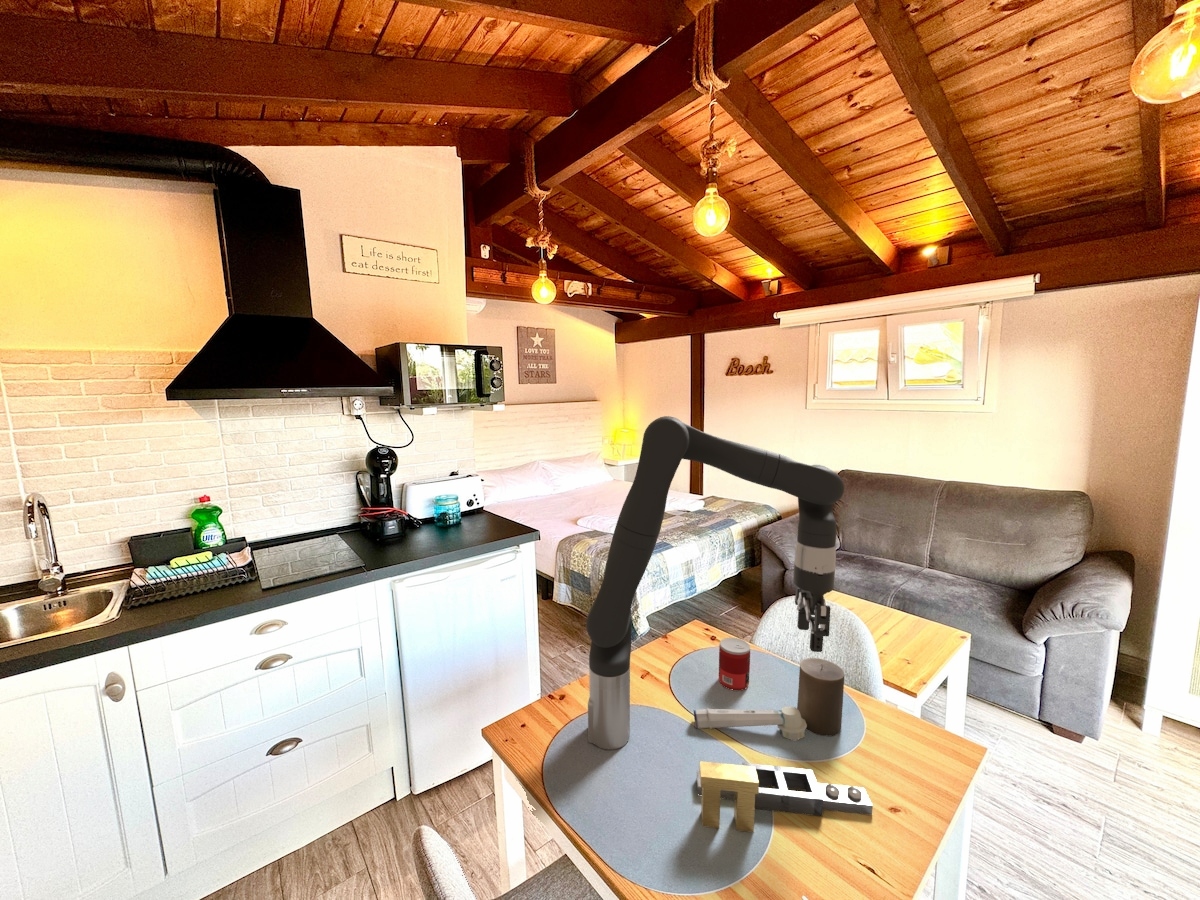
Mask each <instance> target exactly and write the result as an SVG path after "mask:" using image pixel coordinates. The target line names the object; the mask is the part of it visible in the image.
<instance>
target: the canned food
mask: <svg viewBox="0 0 1200 900" xmlns="http://www.w3.org/2000/svg"><path fill="white" fill-rule="evenodd" d="M718 651H719V652H718V653H719V654H718V680H719V683H720V685H721V684H722V685H723V687H724V686H725V687H727V688H729V689H728V690H730V689H733V690H732V691H734V690H741V691H743V690H742V689H744V690H746V689H747V688H748V687H749V684H750V672H751V671H750V670H751V645H750V644H749V643H748V642H747V641H746V640H744V639H741V638H737V637H736V638H735V637H725V638H722V639H721V640H720V641H719V650H718ZM722 685H721V686H722ZM725 687H724V688H725ZM727 688H726V689H727ZM745 688H746V689H745Z"/></svg>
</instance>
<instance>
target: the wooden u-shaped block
mask: <svg viewBox="0 0 1200 900" xmlns="http://www.w3.org/2000/svg"><path fill="white" fill-rule="evenodd" d="M698 771H699V772H700V784H701V788H702V796H701V810H700V811H701V823H702V827H706V828H713V829H714V828H715V829H720V823H721V822H720V821H721V819H720V818H721V798H720V792H721V790H726V791H735V800H734V808H733V811H734V812H733V817H734V823H735V830H736V831H739V832H747V833H754V832H755V810H756V809H755V794H759V786H760V785H759V781H758V777H757V772H756V768H755V767H752V766H743V765H741V764H732V763H721V762H713V761H712V762H711V761H701V760H700V761H699V770H698Z"/></svg>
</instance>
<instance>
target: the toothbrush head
mask: <svg viewBox="0 0 1200 900" xmlns="http://www.w3.org/2000/svg"><path fill="white" fill-rule="evenodd" d="M693 716H694V718H693V719H694V726H695V727H694V728H695V729H709V730H712V729H718V728H721V729H723V728H739V727H759V726H761V727H762V726H763V727H765V726H777V728H778V729H779V730H778V731H779V733H780V735H781V736H782V737H783V738H784V739H786V738H787V739H790V740H791V741H799V740H800V739H804V738H805V736H806V730H807V729H806V727H807V724H806V722H805V720H804V719H802V718H801V714H800V712H799V710H798V709H797V707H795V706H790V705H789V706H786V705H785V706H783V707H782V708H781V709H774V710H773V709H726V708H725V709H721V708H720V709H719V708H714V709H713V708H710V707H707V708H706V709H693Z"/></svg>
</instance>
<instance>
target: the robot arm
mask: <svg viewBox="0 0 1200 900" xmlns="http://www.w3.org/2000/svg"><path fill="white" fill-rule="evenodd" d="M682 460H687V461H692V462H698V463H700V464H705V465H706V466H710V467H713V468H714V469H715V468H716V469H718V470H721V471H723V472H725V473H727V474H729V475H732V476H734V477H736V478H739V479H741V480H745V481H747V482H751V483H752V484H757V485H760V486H763V487H765V488H769V489H775V490H777V491H782V492H784V493H786V494H789V495H791V496H793V497H796V498H797V504H798V514H799V515H798V525H797V535H796V536H797V537H796V538H797V539H796V547H795V552H794V561H793V562H794V563H793V580H792V581H793V584H794V586H795V597H794V604H795V605H796V606H797V607H796V610H797V613H798V614H797V629H798V630H800V631H808V630H809V629H810V637H809V650H810V651H811V652H815V653H821V652H823V649H824V648H823V647H824V637H830V627H831V626H830V625H831V606H830V605H827V604H826V599H825V597H824V596H825V595H826V594H828V593H831V592H832V591H833V590H834V586H835V574H836V560H837V553H836V543H837V528H838V527H837V526H838V525H837V519H836V517H835V516H834V512H833V508H834V504H835V503H837V502H838V501H839V500H841V498H843V495H844V493H845V483H844V481H843V480H842V479H843V478H842V477H840V475H839V474H838V473H837V472H835V471H833V470H832V469H830V468H828V467H826V466H825V465H821V464H807V463H803V462H800V461H799V462H798V461H796V460H794V459H792V458H790V457H788V456H785V455H783V454H780V453H777V452H773V451H770V450H766V449H763V448H759V447H755V446H751V445H748V444H744V443H740V442H738V441H737V442H736V441H732V440H728V439H724V438H721V437H718V436H716V435H712V434H709V433H708V432H707V433H706V432H704V431H701V430H700V429H697V428H695V427H694V426H691V425H689V424H687V423H685V422H683V421H682V420H680V419H679V418H677V417H674V416H669V415H668V416H665V415H664V416H660V417H658V418H656V419H654V420H652V421H651V422H650V423H649V424H648V426H646V428H645V430H644V433H643V436H642V444H641V448H640V454H639V460H638V463H637V469H636V471H635V476H634V479H633V482H632V485H631V486H630V489H629V491H628V494H627V496H626V497H625V499H624V502H623V504H622V507H621V510H620V513H619V515H618V519H617V521H616V525H615V527H614V530H613V533H612V534H613V535H612V539H611V542H610V545H609V550H608V554H607V558H606V564H605V569H604V570H605V571H604V574H603V578H602V582H601V586H600V587H599V591H598V593H597V596H596V598H595V599H594V601H593V603H592V605H591V607H590V610H589V612H588V613H587V616H586V623H585V624H586V625H585V626H586V632H587V635H588V637H589V639H590V640H591V642H590V647H589V655H588V665H589V666H588V669H589V671H588V672H589V673H588V674H589V675H588V676H589V677H588V678H589V697H588V702H587V742H588V743H591V744H594V745H595V746H596V747H598V748H600V749H603V750H616V749H620V748H623V747H624V746H625V745H626V744H627V743H628V742H629V740H630V735H631V725H630V724H631V653H632V627H633V624H632V622H633V620H632V617H633V616H632V607H633V602H634V599H635V598H634V597H635V594H636V592H637V589H638V587H639V585H640V583H641V580H642V578H643V576H644V574H645V572H646V570H647V567H648V565H649V562H650V560H651V558H652V556H653V553H654V551H655V547H656V544H657V541H658V539H659V535H660V531H661V529H662V525H663V522H664V521H663V520H664V516H665V510H666V507H667V506H666V505H667V499H668V495H669V490H670V487H671V485H672V481H674V480H673V479H674V477H675V475H676V473H677V470H678V468H679V465H680V463H681V461H682ZM627 741H628V742H627Z"/></svg>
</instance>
